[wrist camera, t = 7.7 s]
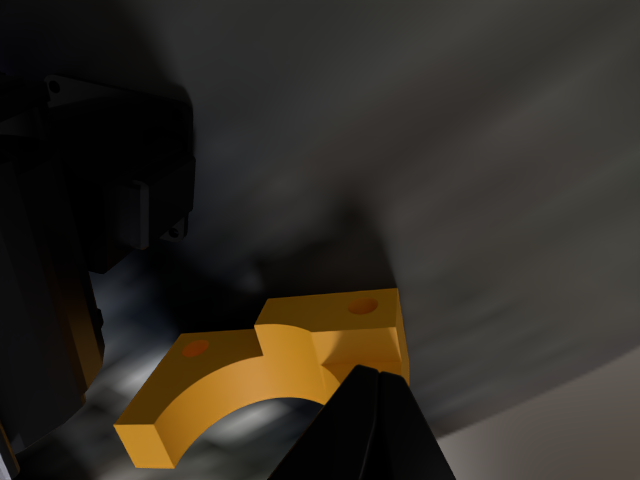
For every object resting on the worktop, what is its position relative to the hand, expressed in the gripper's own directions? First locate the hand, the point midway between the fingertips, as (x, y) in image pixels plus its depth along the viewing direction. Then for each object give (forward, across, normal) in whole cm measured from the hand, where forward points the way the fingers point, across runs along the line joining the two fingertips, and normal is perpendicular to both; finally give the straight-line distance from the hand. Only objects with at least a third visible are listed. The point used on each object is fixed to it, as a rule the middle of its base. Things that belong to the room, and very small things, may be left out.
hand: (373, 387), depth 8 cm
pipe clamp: (+12, +3, +9) cm, 16 cm away
